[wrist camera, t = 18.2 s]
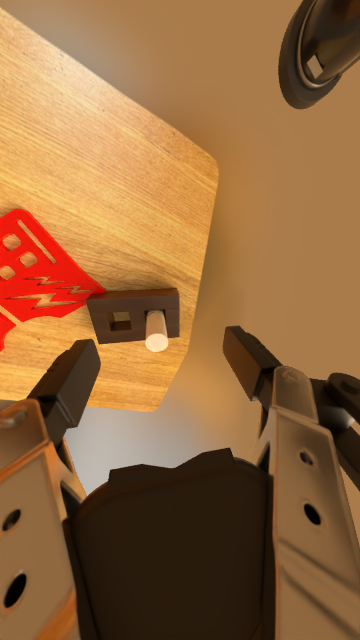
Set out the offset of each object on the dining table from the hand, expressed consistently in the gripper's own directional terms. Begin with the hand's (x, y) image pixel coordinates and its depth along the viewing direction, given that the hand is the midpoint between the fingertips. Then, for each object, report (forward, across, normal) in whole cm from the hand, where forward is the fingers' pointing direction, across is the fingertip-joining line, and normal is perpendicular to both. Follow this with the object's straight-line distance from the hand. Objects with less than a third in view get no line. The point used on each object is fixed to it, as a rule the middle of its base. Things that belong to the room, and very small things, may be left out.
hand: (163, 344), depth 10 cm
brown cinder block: (+32, +6, +13) cm, 35 cm away
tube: (+32, +1, +13) cm, 34 cm away
